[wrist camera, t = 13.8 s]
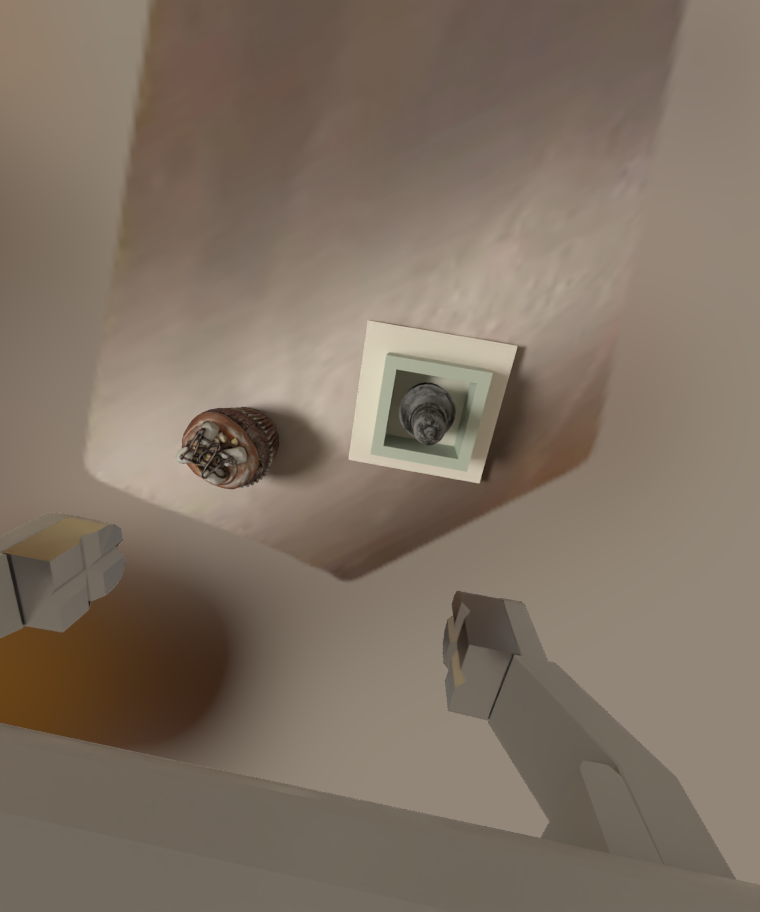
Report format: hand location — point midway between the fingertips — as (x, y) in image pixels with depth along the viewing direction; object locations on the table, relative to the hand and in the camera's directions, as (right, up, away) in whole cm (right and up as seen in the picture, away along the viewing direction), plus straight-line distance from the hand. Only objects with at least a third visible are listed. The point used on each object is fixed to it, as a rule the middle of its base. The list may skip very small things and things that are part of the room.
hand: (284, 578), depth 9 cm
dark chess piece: (+8, +9, +33) cm, 34 cm away
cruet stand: (+8, +9, +33) cm, 35 cm away
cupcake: (-14, +5, +37) cm, 40 cm away
